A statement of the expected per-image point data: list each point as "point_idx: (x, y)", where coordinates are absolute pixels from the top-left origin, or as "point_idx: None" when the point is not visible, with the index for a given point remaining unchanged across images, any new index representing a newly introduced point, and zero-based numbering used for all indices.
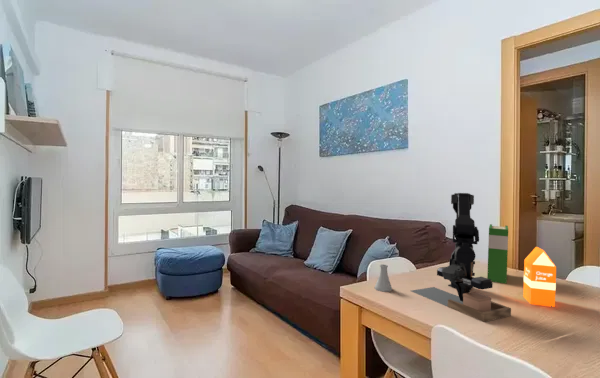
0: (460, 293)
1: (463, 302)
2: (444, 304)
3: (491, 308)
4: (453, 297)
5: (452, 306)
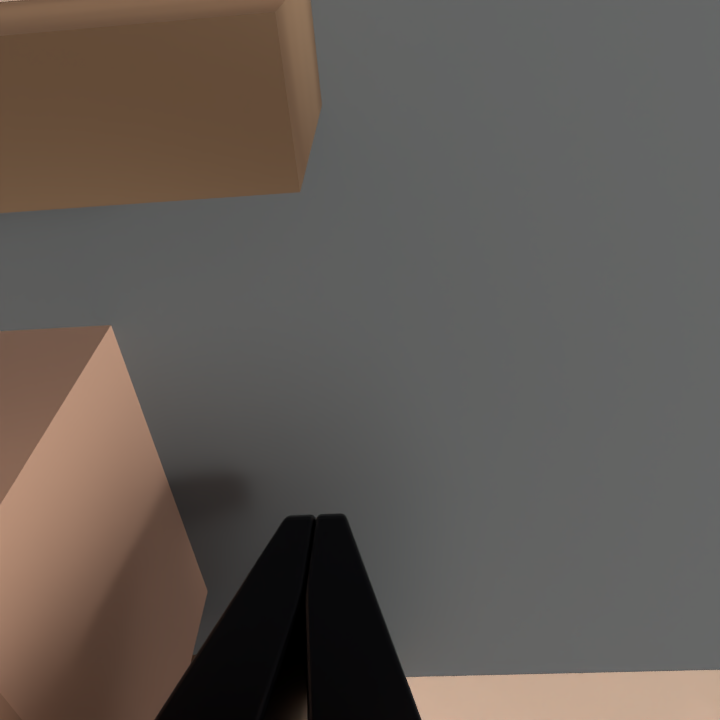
0: (311, 709)
1: (28, 431)
2: (515, 44)
3: None
4: (704, 585)
5: (71, 2)
